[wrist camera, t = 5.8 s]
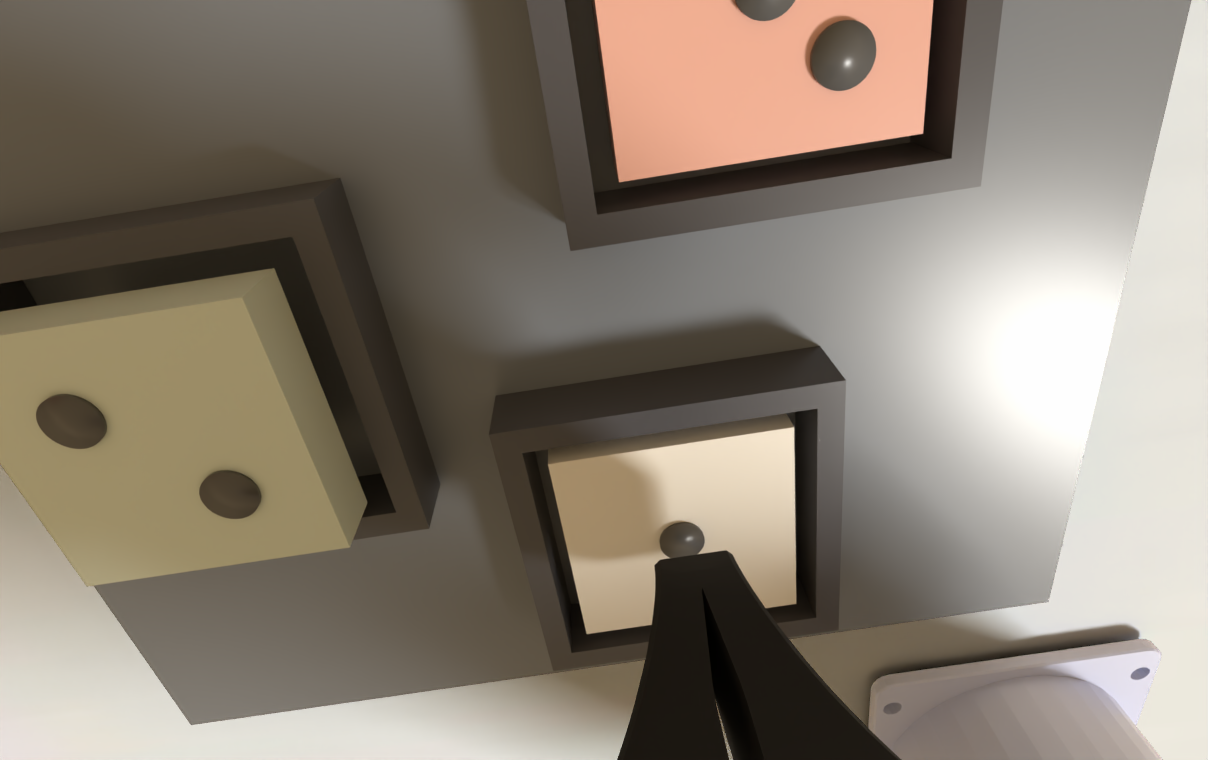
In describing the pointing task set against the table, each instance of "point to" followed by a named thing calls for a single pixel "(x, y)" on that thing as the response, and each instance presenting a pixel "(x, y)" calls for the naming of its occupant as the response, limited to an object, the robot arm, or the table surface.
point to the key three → (757, 78)
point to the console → (589, 305)
